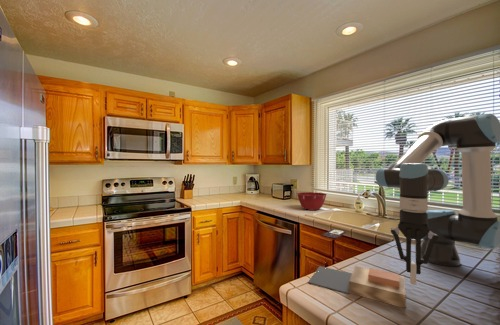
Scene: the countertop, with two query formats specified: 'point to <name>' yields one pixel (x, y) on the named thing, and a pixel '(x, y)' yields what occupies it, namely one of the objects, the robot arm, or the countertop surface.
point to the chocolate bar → (333, 234)
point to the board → (376, 288)
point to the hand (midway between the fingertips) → (413, 282)
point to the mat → (331, 279)
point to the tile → (383, 277)
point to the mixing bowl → (311, 200)
